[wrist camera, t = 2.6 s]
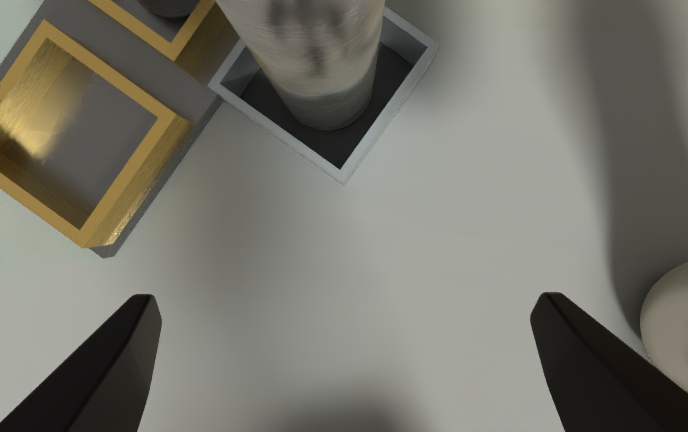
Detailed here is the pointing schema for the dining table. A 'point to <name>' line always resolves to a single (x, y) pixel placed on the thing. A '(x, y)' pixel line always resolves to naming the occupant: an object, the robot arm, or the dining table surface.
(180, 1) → the billet twin
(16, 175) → the gold holder tray
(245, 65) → the grey square dish
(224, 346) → the dining table surface
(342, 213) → the dining table surface
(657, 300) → the plastic bottle
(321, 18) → the billet
